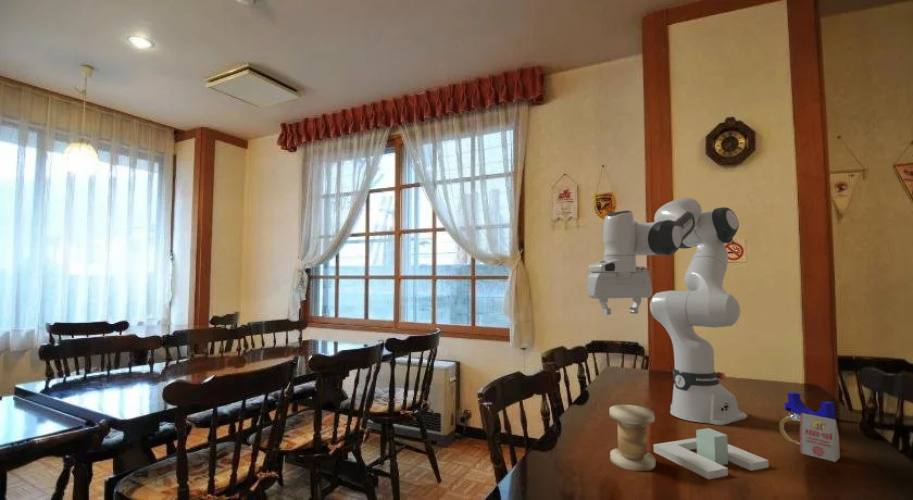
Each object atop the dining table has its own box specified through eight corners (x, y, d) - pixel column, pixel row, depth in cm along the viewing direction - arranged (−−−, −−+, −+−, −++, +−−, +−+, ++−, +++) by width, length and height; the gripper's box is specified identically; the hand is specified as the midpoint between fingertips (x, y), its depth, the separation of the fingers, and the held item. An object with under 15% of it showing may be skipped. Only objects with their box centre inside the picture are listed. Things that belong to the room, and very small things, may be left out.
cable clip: (785, 411, 143) (784, 393, 144) (795, 410, 144) (795, 392, 145) (823, 424, 132) (822, 403, 132) (835, 422, 133) (834, 402, 133)
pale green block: (709, 457, 107) (708, 428, 108) (728, 465, 103) (727, 435, 103) (697, 459, 106) (696, 429, 107) (715, 468, 101) (714, 437, 102)
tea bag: (805, 451, 111) (803, 411, 111) (839, 460, 105) (837, 418, 106) (800, 455, 109) (798, 414, 109) (835, 464, 103) (833, 421, 104)
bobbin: (634, 451, 111) (633, 403, 111) (665, 468, 101) (664, 415, 102) (601, 456, 108) (600, 406, 108) (629, 474, 98) (628, 419, 99)
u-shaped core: (708, 443, 116) (708, 435, 116) (768, 469, 101) (768, 460, 101) (653, 452, 110) (653, 444, 110) (708, 481, 95) (708, 471, 95)
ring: (815, 448, 113) (813, 416, 113) (808, 450, 111) (807, 418, 112) (784, 439, 119) (783, 409, 119) (778, 441, 117) (776, 411, 118)
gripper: (641, 266, 134) (642, 312, 133) (583, 266, 128) (584, 314, 127) (656, 266, 128) (657, 313, 127) (597, 265, 122) (598, 316, 121)
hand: (620, 314), depth 127 cm, fingers open, 8 cm apart
